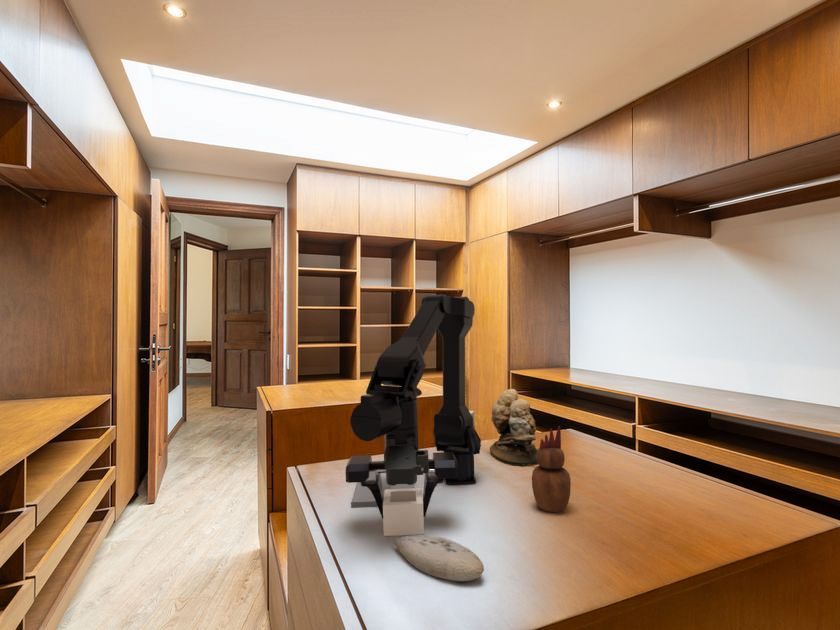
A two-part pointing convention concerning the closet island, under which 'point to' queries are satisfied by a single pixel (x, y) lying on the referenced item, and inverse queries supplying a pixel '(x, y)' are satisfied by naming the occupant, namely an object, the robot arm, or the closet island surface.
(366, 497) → the post stand
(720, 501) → the closet island surface
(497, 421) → the owl figurine
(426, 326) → the robot arm
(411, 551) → the decorative stone
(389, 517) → the collar
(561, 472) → the wooden figurine
